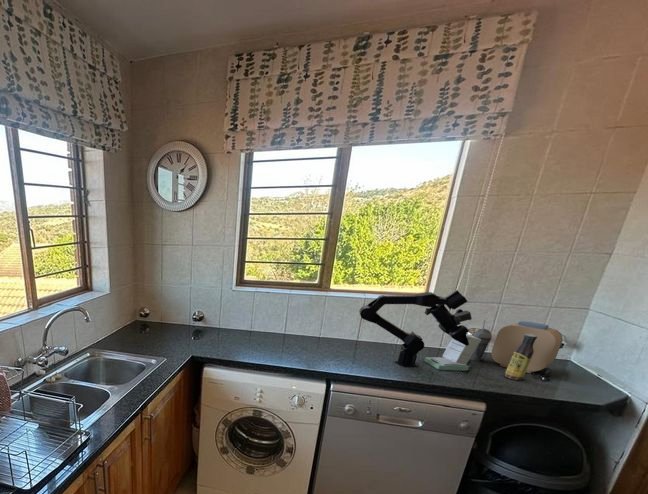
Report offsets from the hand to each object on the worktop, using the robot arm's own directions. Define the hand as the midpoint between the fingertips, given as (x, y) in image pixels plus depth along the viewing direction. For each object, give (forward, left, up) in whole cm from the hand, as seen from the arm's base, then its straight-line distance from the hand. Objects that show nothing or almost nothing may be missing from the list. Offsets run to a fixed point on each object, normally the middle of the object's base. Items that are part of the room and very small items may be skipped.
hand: (464, 342), depth 181 cm
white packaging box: (-2, +1, -9) cm, 9 cm away
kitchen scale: (-1, +5, -13) cm, 14 cm away
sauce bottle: (+17, -12, -13) cm, 25 cm away
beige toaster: (+31, 0, -13) cm, 34 cm away
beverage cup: (+21, +13, -13) cm, 29 cm away
